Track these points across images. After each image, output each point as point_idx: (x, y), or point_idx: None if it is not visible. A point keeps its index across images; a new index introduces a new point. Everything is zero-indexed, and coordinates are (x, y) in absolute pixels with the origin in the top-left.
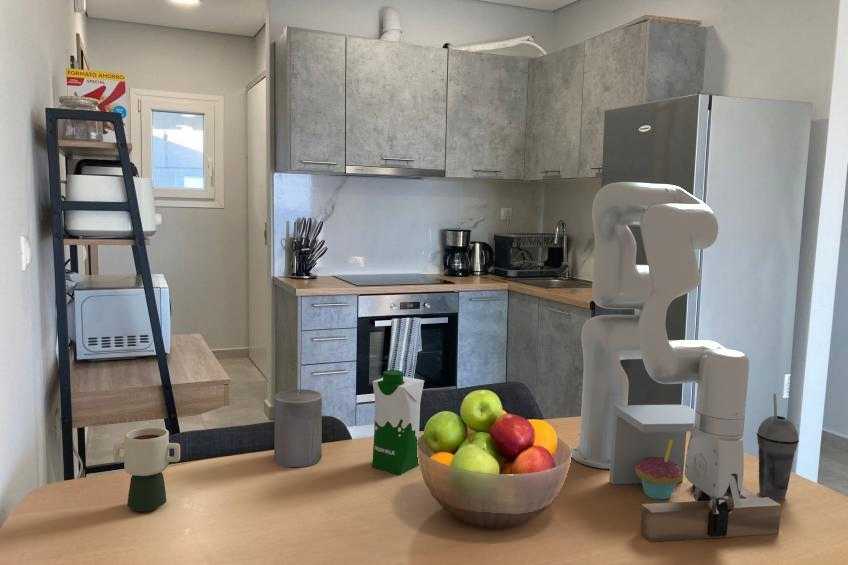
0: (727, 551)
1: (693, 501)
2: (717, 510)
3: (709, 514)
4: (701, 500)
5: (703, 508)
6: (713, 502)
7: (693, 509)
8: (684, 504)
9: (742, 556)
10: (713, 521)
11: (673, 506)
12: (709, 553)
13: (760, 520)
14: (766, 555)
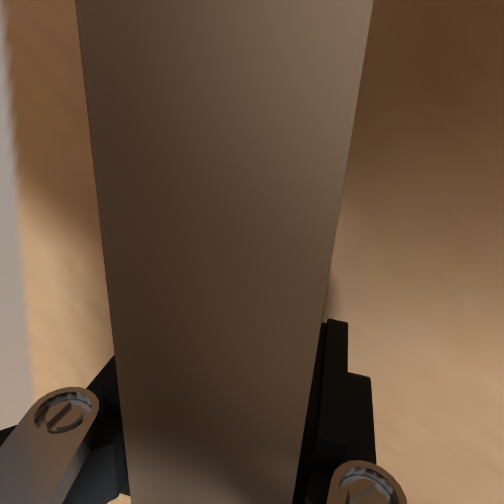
0: (75, 274)
1: (305, 414)
2: (23, 426)
3: None
4: (309, 487)
5: (139, 380)
6: (31, 482)
7: (117, 275)
8: (253, 274)
9: (34, 302)
10: None
11: (219, 80)
12: (53, 169)
13: None
14: (47, 392)
